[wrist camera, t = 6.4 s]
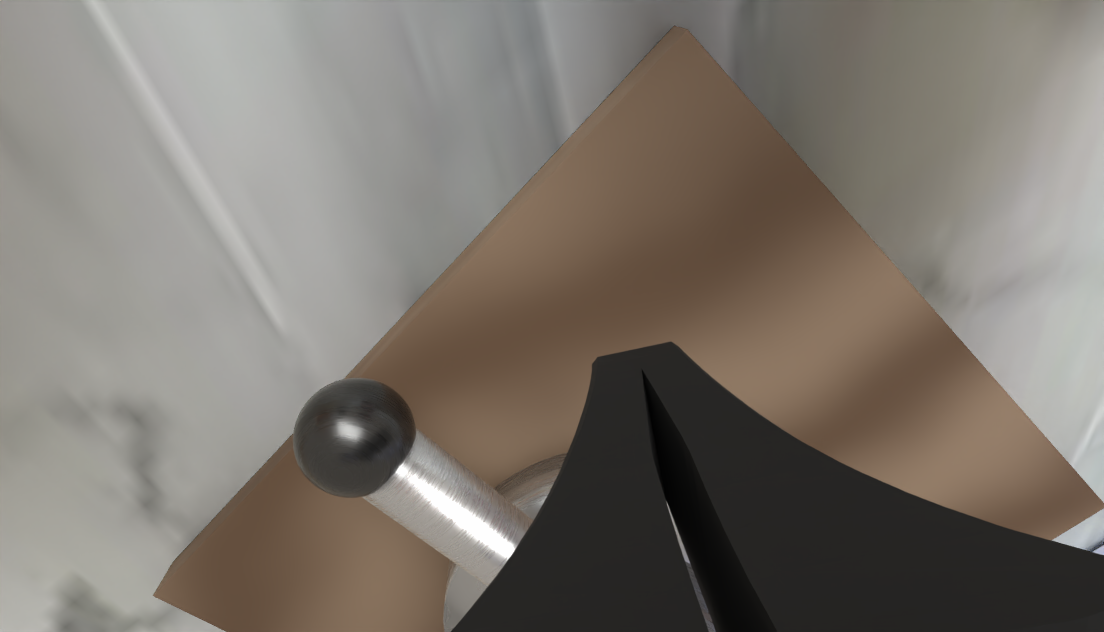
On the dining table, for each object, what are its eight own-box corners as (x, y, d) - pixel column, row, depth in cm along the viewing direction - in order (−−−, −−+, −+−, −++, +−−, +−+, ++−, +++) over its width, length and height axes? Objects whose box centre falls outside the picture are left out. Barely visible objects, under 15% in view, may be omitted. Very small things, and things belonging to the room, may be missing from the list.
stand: (1074, 477, 20) (1138, 534, 18) (599, 780, 26) (605, 847, 24) (674, 25, 14) (701, 33, 11) (172, 562, 20) (133, 628, 18)
